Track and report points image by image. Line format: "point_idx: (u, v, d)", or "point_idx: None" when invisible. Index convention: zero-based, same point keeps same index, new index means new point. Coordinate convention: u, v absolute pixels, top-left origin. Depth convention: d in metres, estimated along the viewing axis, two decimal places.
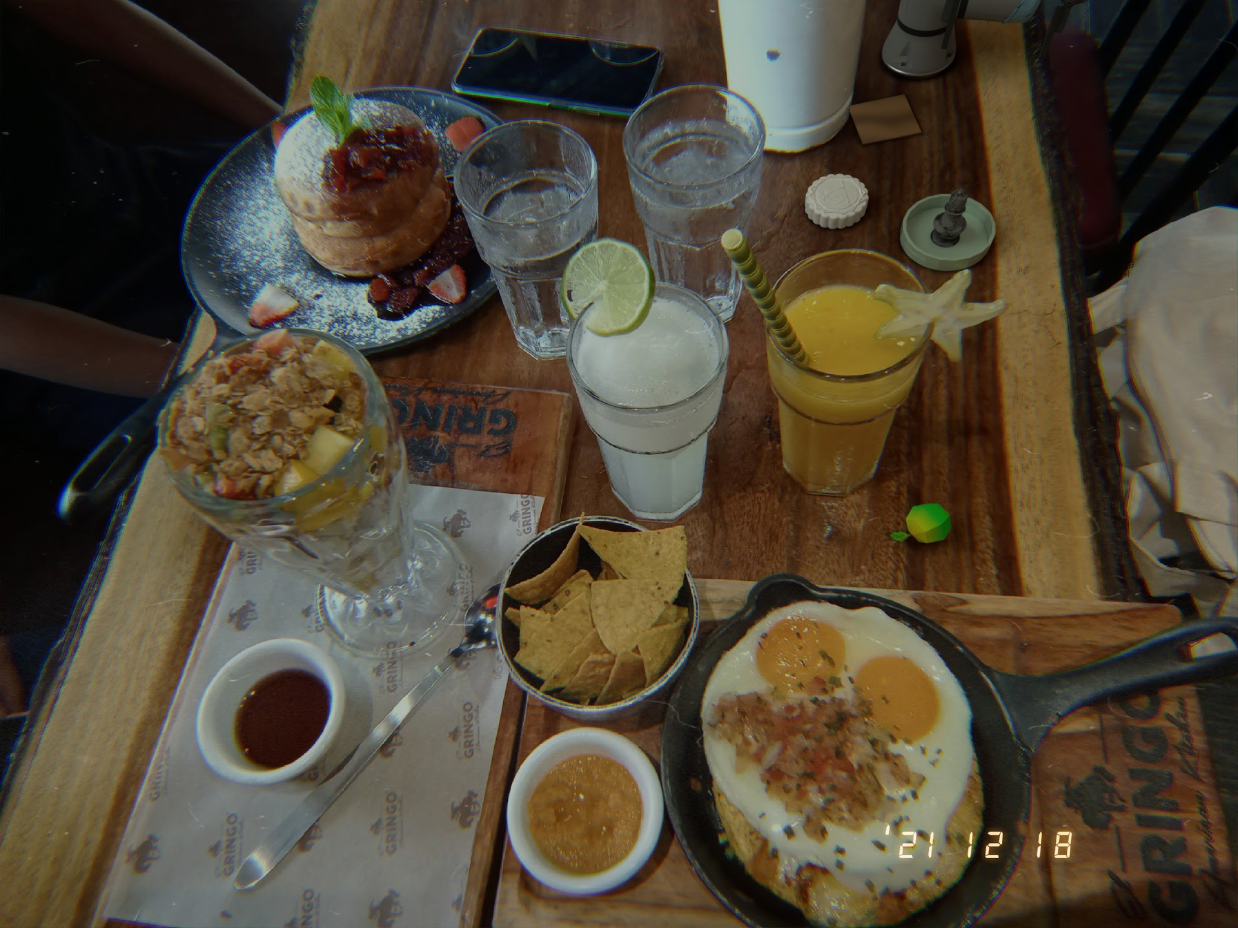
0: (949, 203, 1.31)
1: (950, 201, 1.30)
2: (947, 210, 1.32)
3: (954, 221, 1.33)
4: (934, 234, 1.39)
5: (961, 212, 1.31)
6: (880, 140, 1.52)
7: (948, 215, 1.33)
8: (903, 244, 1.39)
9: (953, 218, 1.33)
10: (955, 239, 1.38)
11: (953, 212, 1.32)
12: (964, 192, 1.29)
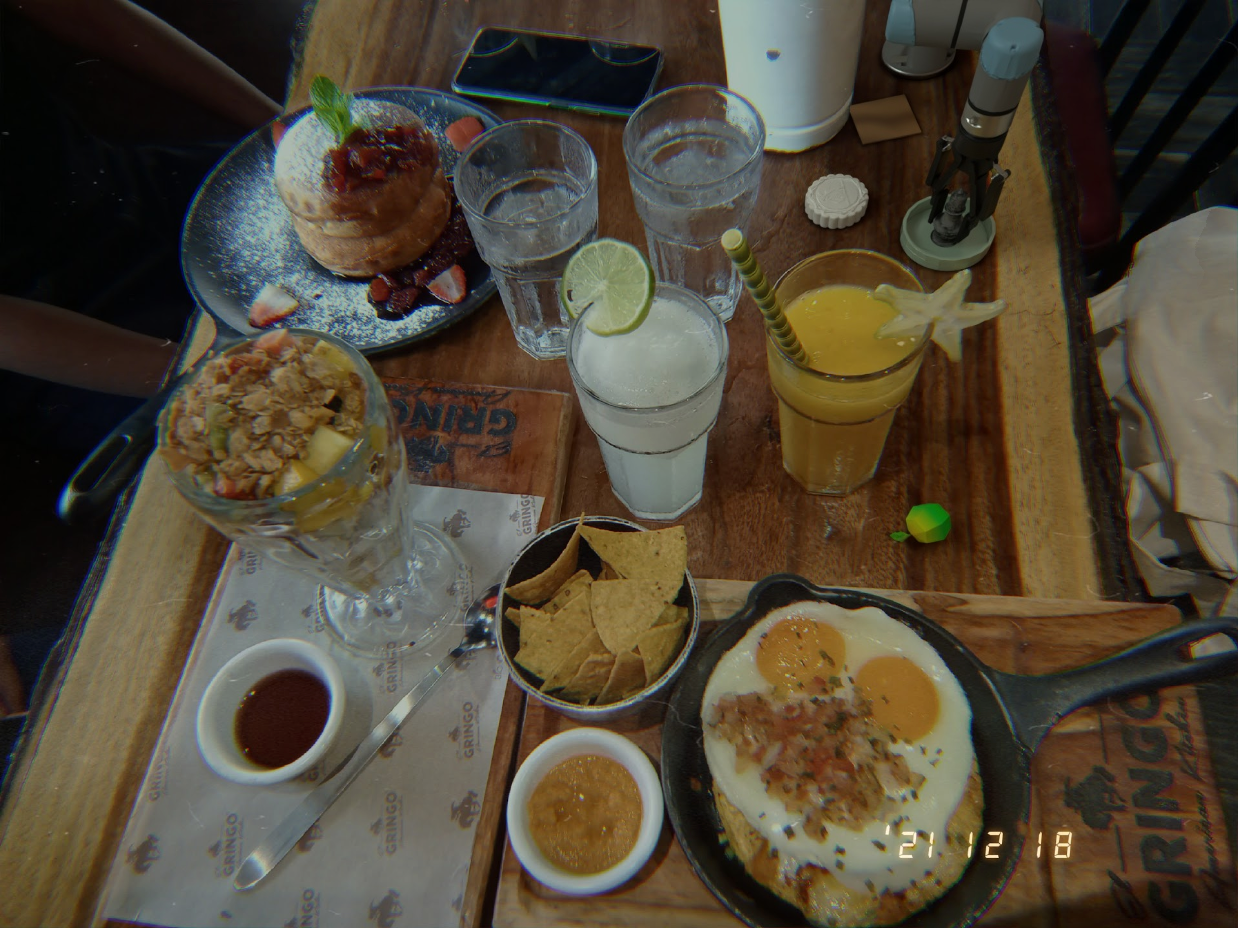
0: (949, 203, 1.31)
1: (950, 201, 1.30)
2: (947, 210, 1.32)
3: (954, 221, 1.33)
4: (934, 234, 1.39)
5: (961, 212, 1.31)
6: (880, 140, 1.52)
7: (948, 215, 1.33)
8: (903, 244, 1.39)
9: (953, 218, 1.33)
10: (955, 239, 1.38)
11: (953, 212, 1.32)
12: (964, 192, 1.29)
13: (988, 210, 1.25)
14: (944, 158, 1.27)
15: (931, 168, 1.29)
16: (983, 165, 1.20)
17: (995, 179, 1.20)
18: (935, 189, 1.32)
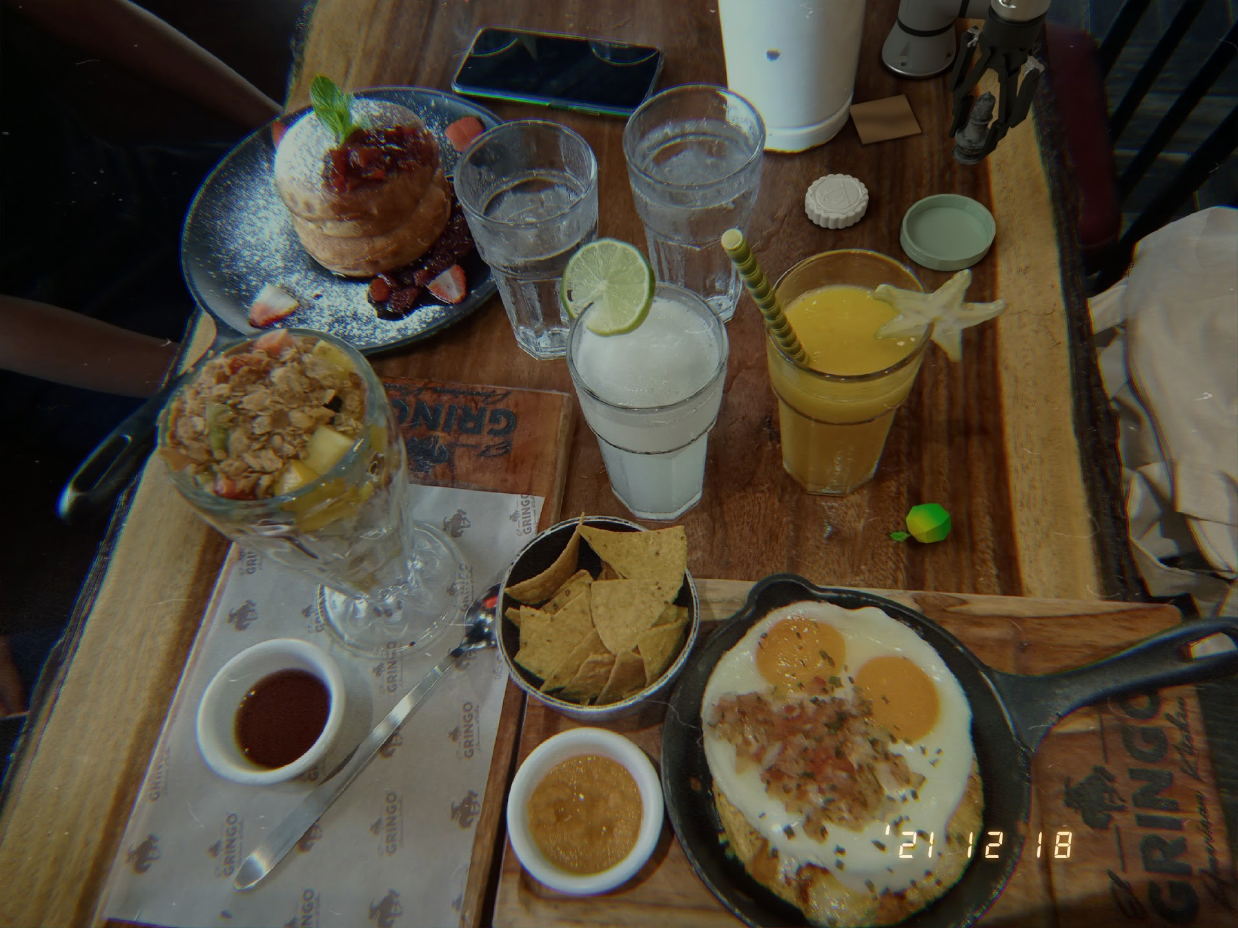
0: (974, 110, 1.16)
1: (975, 108, 1.16)
2: (971, 119, 1.17)
3: (980, 132, 1.18)
4: (956, 150, 1.24)
5: (988, 121, 1.16)
6: (880, 140, 1.52)
7: (973, 125, 1.18)
8: (903, 244, 1.39)
9: (978, 128, 1.18)
10: None
11: (978, 121, 1.17)
12: (992, 96, 1.14)
13: (1020, 114, 1.10)
14: (969, 56, 1.12)
15: (954, 69, 1.14)
16: (1016, 58, 1.05)
17: (1029, 73, 1.05)
18: (958, 95, 1.17)
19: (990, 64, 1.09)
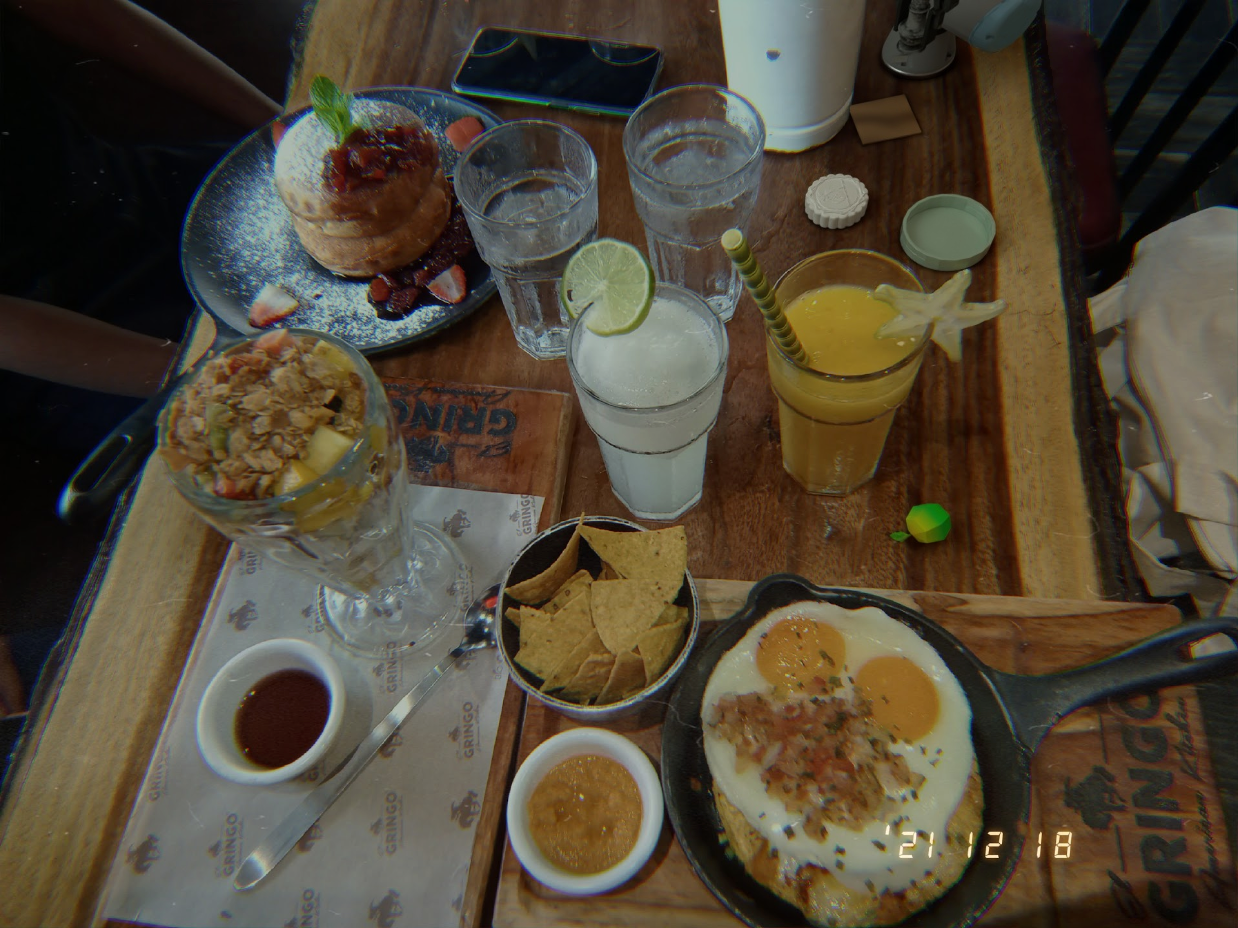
0: (913, 0, 1.28)
1: None
2: (911, 9, 1.29)
3: (919, 21, 1.30)
4: (900, 43, 1.35)
5: (926, 9, 1.28)
6: (880, 140, 1.52)
7: (913, 15, 1.29)
8: (903, 244, 1.39)
9: (918, 18, 1.29)
10: (921, 46, 1.34)
11: (917, 10, 1.28)
12: None
13: None
14: None
15: None
16: None
17: None
18: None
19: None
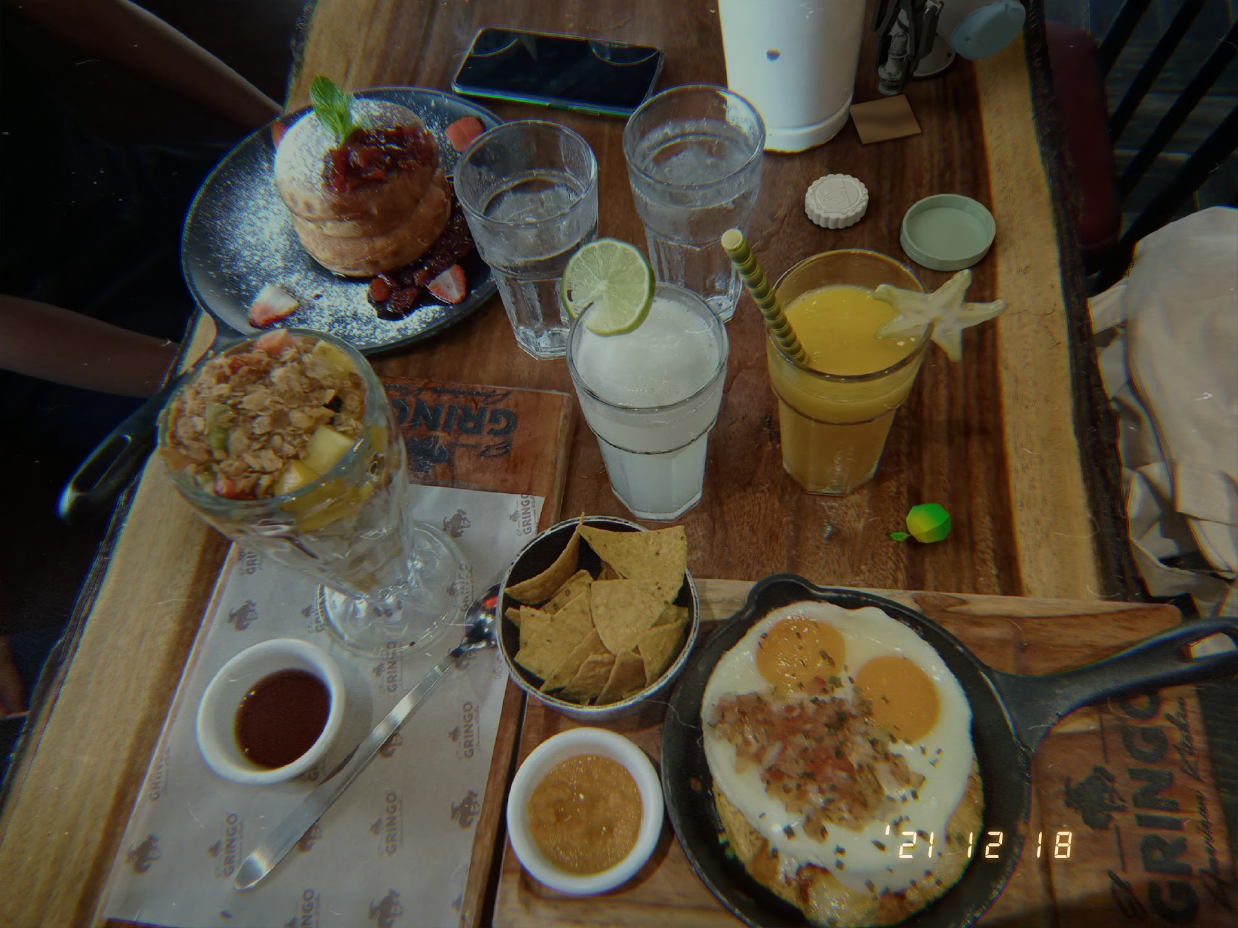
0: (891, 46, 1.40)
1: (892, 44, 1.39)
2: (889, 54, 1.41)
3: (897, 65, 1.42)
4: (880, 84, 1.47)
5: (903, 55, 1.40)
6: (880, 140, 1.52)
7: (891, 60, 1.41)
8: (903, 244, 1.39)
9: (896, 62, 1.41)
10: (899, 87, 1.46)
11: (895, 55, 1.40)
12: (904, 33, 1.37)
13: (925, 46, 1.34)
14: (885, 0, 1.36)
15: (874, 12, 1.38)
16: None
17: (929, 10, 1.28)
18: (879, 34, 1.40)
19: (900, 5, 1.33)
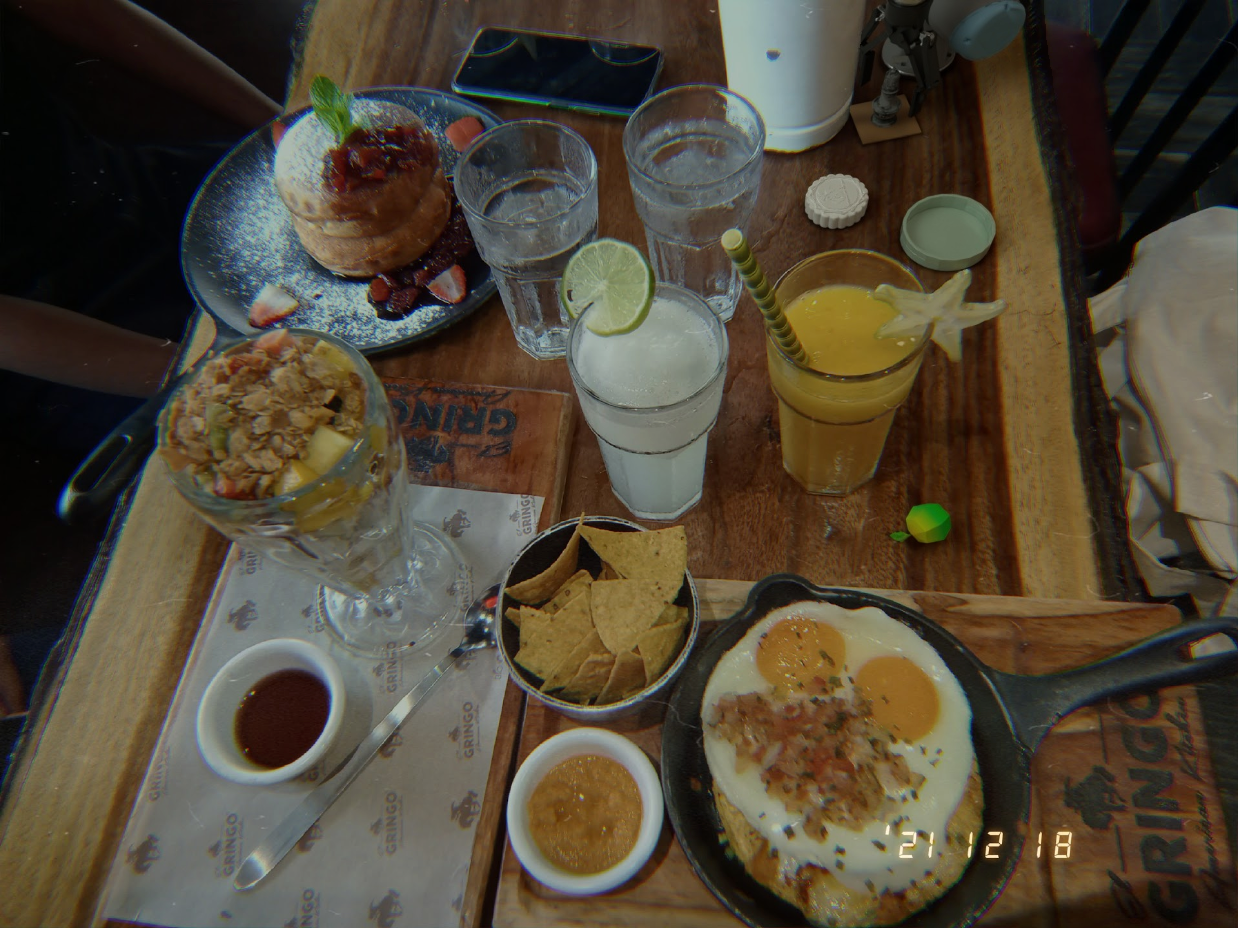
0: (884, 82, 1.46)
1: (885, 80, 1.46)
2: (882, 89, 1.47)
3: (890, 100, 1.49)
4: (874, 116, 1.54)
5: (895, 91, 1.47)
6: (880, 140, 1.52)
7: (884, 95, 1.48)
8: (903, 244, 1.39)
9: (888, 97, 1.48)
10: (892, 120, 1.53)
11: (888, 91, 1.47)
12: (896, 71, 1.44)
13: (931, 77, 1.37)
14: (875, 26, 1.42)
15: (862, 33, 1.44)
16: (911, 35, 1.35)
17: (923, 41, 1.33)
18: (862, 50, 1.46)
19: (893, 40, 1.39)
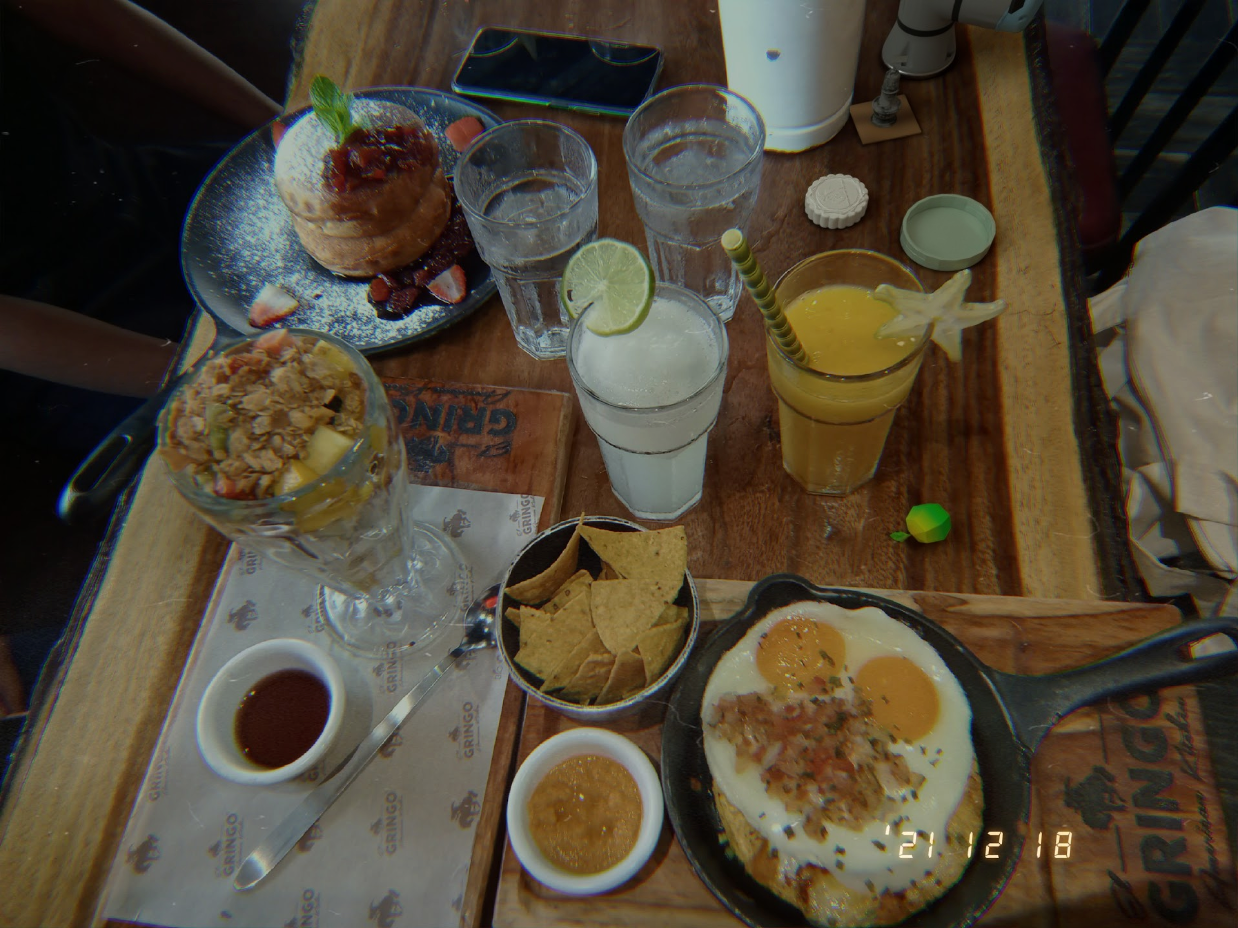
0: (884, 82, 1.46)
1: (885, 80, 1.46)
2: (882, 89, 1.47)
3: (890, 100, 1.49)
4: (874, 116, 1.54)
5: (895, 91, 1.47)
6: (880, 140, 1.52)
7: (884, 95, 1.48)
8: (903, 244, 1.39)
9: (888, 97, 1.48)
10: (892, 120, 1.53)
11: (888, 91, 1.47)
12: (897, 71, 1.44)
13: None
14: None
15: None
16: None
17: None
18: None
19: None
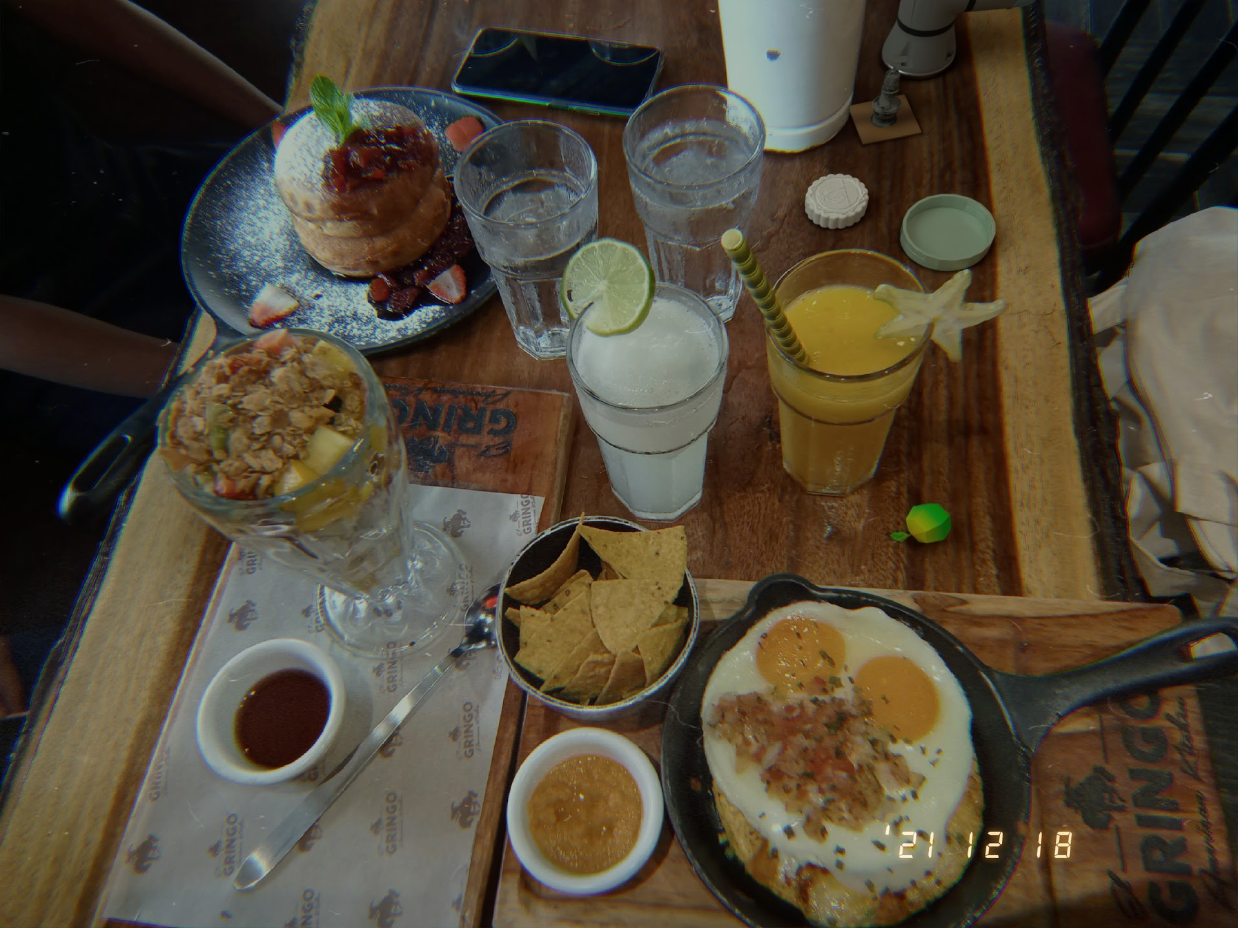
0: (884, 82, 1.46)
1: (885, 80, 1.46)
2: (882, 89, 1.47)
3: (890, 100, 1.49)
4: (874, 116, 1.54)
5: (895, 91, 1.47)
6: (880, 140, 1.52)
7: (884, 95, 1.48)
8: (903, 244, 1.39)
9: (888, 97, 1.48)
10: (892, 120, 1.53)
11: (888, 91, 1.47)
12: (897, 71, 1.44)
13: None
14: None
15: None
16: None
17: None
18: None
19: None
